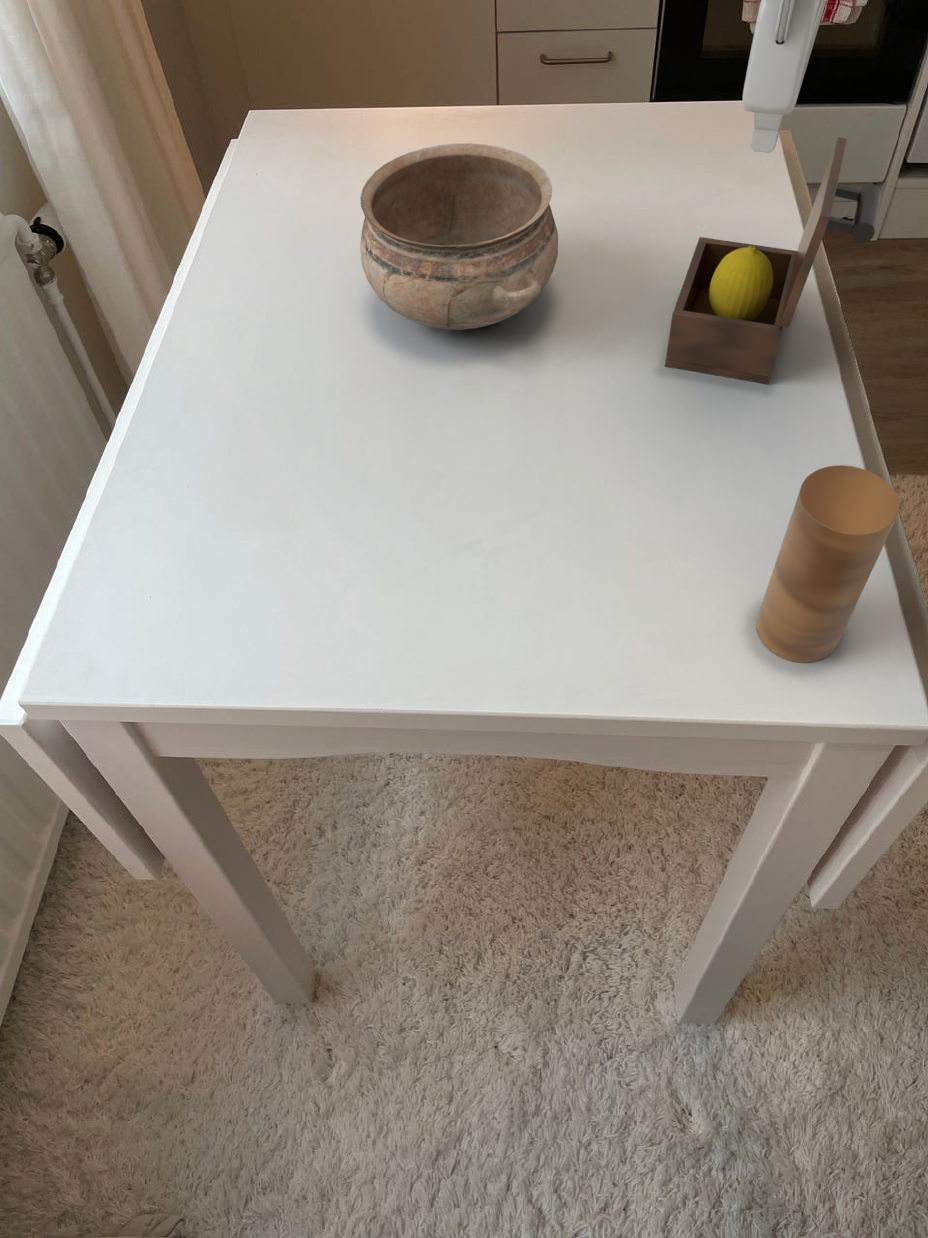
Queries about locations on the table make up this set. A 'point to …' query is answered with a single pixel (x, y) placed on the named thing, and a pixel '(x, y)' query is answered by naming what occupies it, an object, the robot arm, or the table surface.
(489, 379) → the table surface
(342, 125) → the table surface
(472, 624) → the table surface
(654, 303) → the table surface
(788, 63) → the robot arm
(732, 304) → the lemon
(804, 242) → the lid
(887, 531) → the stand
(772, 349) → the chest
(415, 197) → the cooking pot
